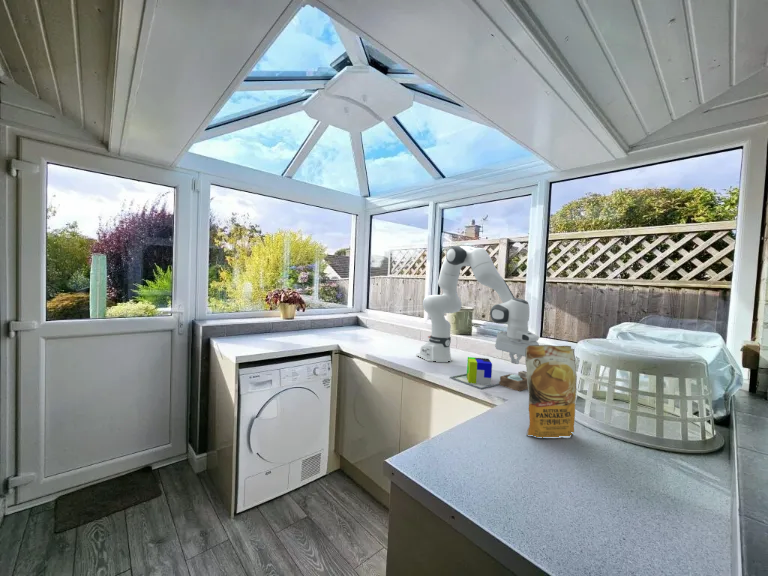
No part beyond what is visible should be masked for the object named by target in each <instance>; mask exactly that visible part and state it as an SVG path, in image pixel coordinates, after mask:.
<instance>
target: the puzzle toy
mask: <svg viewBox="0 0 768 576" xmlns="http://www.w3.org/2000/svg"><path fill="white" fill-rule="evenodd" d="M466 365H467V366H466V373H467V375H466V378H467V379H466V380H467V383H470V384H473V385H474V384H475V385H476V384H478V385H484V386H485V385H486V386H489V385H492V375H493V373H492V372H493V371H492V370H493V362H492V361H491V360H490V359H489V358H485V357H483V358H482V357H473V356H472V357H471V356H470V357H469V356H467V363H466Z"/></svg>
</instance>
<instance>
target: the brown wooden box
mask: <svg viewBox="0 0 768 576" xmlns="http://www.w3.org/2000/svg"><path fill="white" fill-rule="evenodd" d="M510 375H515V373H509V374H506V375H501V376H500V375H499V376H500V377H499V381H498V383H499V384H500V385H499V386H502V387H505V388H507V389H511V390H513V391H517V392H521V391H525V390H528V385H527V370H526V371H525V370H520V371H518V373H517V375H518V376H520V378H522V380H520V381H516V380H512V379H509V378H508V376H510Z"/></svg>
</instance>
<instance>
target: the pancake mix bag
mask: <svg viewBox="0 0 768 576" xmlns="http://www.w3.org/2000/svg"><path fill="white" fill-rule="evenodd" d="M525 356H526V357H525V367H526V372H527V385H528V389H527V391H528V414H529V424H528V429H527V431H526V436H527V435H533V436H536V437H542V438H543V437H559V436H570V435H572V433H571V432H574V433H575V421H576V420H575V419H576V418H575V417H576V401H577V390H578V389H577V388H578V387H577V379H578V377H577V367H576V356H575V350H574V348H572V346H571V345H550V344H549V345H548V344H546V345H545V344H544V345H543V344H542V345H541V344H539V345H530V346H528V347H527V348H526V353H525ZM572 436H573V435H572Z"/></svg>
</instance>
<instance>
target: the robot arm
mask: <svg viewBox="0 0 768 576" xmlns="http://www.w3.org/2000/svg"><path fill="white" fill-rule="evenodd" d="M463 267H470V268H471V271H472V273H473V277H474V278H475V279H476V281H477V282H478V283H479V284H480V285H483V286H485V287H488V288H490V289H492V290H493V291H495V292H496V294H498V297H499V298H500V301H501V303H497V304H494V305H492V307H491V309H490V310H489V311H490V312H489V315H490V318H491V320H492V322H494V323H496V324H498V325H499V324H500V325H507V330H505V331H504V330H499V331H497V333H496V340H495V345H494V347H495V349H496V350H498V351H501V352H507V353H509V354H508V355H509V357H510V363H511V364H515V365H519V364H520V360H521V359H522V357H525V358H526V356H525V353H526V348H527V347H528V346H530V345H540V344H539V342H538V341H539V336H538V335H536V334H534V333H533V332H532V331H529V326H528V325H529V321H530V304H529V302H528V301H527V300H525V299H522V298H517V297H516V298H515V296H514V295H513V292H512V291H511V289H510V287H509V286H508V283H507V282H506V280H505V279H504V278H503V276H501V274H500V273H499V271H498V269H497V268H496V266H495V264H494V261H493V260H492V258H491V256H490V254H489V253H488V251H487V250H486V249H485V248H484V247H477V246H470V245H453V246H449V248H447V250H446V253H445V257H444V259H443V261H442V264H441V268H440V272H439V276H438V281H437V285H438V287H439V288H440V289H441V290H442V294H431V295H426V296H425V297H424V299H423V301H422V308H423V310H424V311H425V312H426V313H427V314H428V316H429V318H430V321H431V335H429V336H427V338H428V341H426V343H424V344H422V346H421V347H420V351H419V352H418V353H416V354H415V356H416V355H417V356H416V357H418V356H419V358H420V357H421V358H420V359H422V358H423V359H422V360H424V359H425V361H427V362H433V361H436V362H437V363H449V362H448V361H450V362H452V361H451V360H452V356H451V341H452V340H451V326H452V325H451V323H450V321H448V320H447V319H446V318H445V314H455V313H458V312H460V310H461V309H462V305H463V303H462V300H461V298H460V297H459V294H458V292H457V288H458V287H457V286H458V282H459V279H460V274H461V270H462V268H463ZM514 355H516V358H515V356H514ZM436 362H435V363H436Z"/></svg>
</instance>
